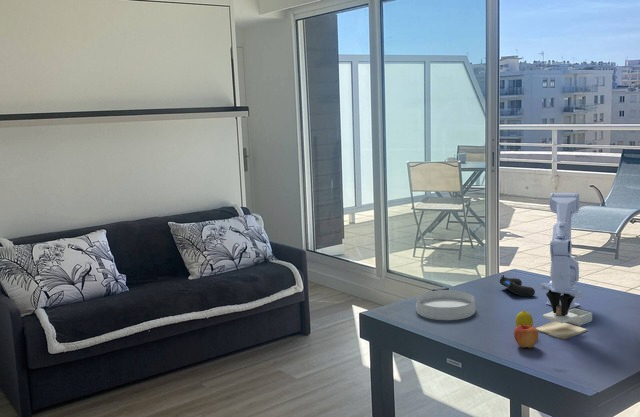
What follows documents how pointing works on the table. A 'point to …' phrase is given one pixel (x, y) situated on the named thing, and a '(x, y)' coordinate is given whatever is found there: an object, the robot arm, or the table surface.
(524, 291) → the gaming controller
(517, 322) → the lemon
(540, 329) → the birch board
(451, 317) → the dish
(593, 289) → the table surface
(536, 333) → the apple
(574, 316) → the lid
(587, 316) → the storage box
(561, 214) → the robot arm
